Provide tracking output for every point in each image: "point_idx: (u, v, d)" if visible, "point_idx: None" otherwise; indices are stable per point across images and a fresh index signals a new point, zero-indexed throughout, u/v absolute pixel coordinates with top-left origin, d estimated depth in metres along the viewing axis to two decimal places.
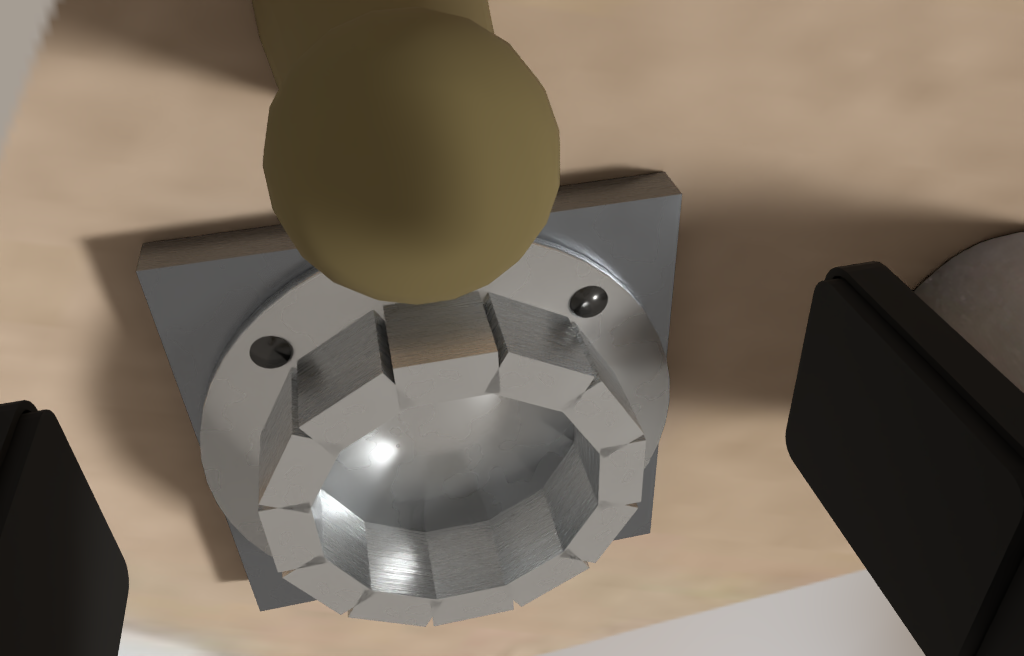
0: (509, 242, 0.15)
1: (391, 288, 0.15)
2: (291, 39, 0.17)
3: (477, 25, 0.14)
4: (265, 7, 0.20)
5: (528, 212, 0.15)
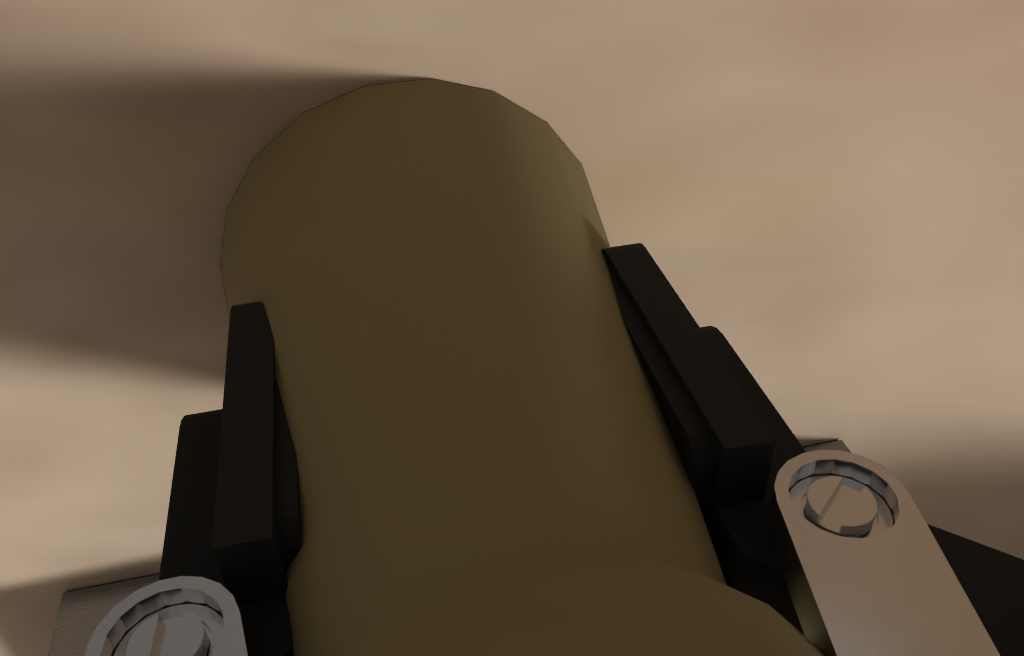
0: None
1: None
2: None
3: None
4: None
5: None
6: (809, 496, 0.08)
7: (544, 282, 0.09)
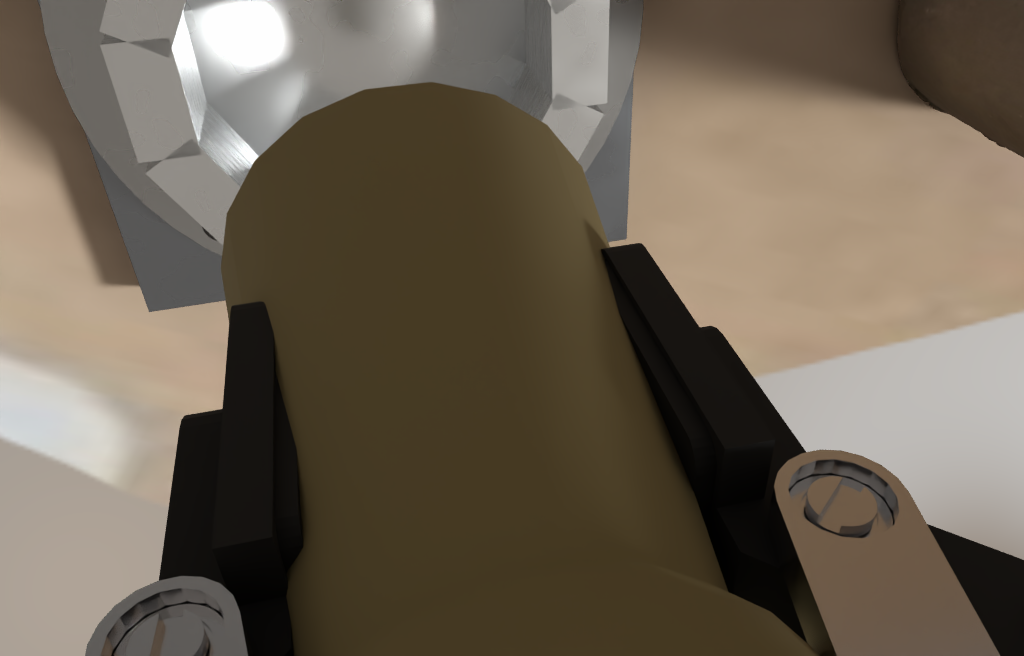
0: None
1: None
2: None
3: None
4: None
5: None
6: (809, 496, 0.08)
7: (545, 287, 0.09)
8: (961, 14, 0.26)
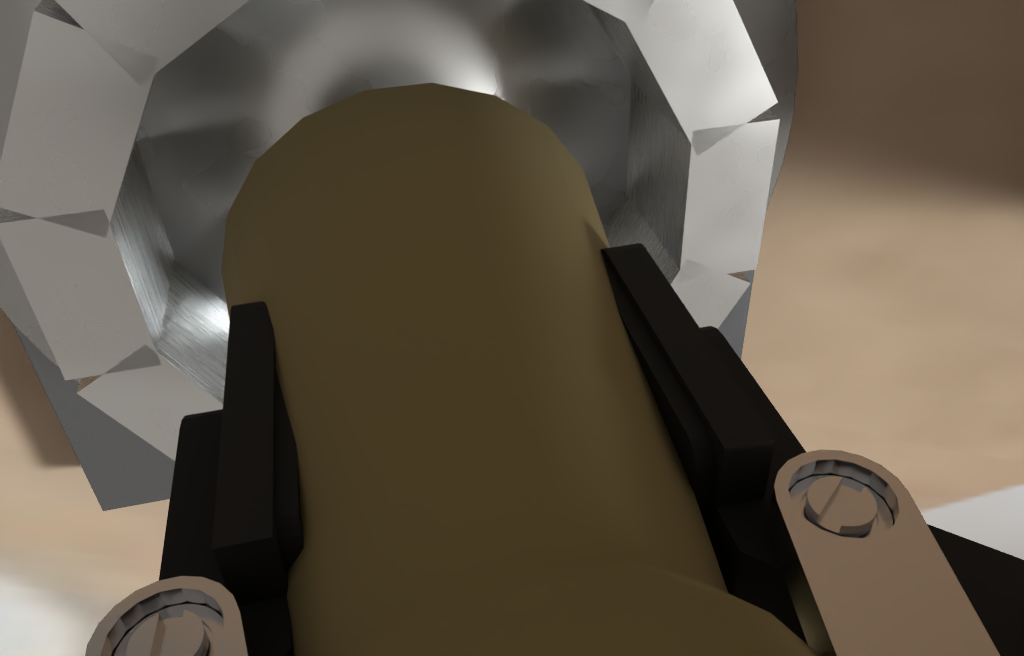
0: None
1: None
2: None
3: None
4: None
5: None
6: (809, 496, 0.08)
7: (545, 288, 0.09)
8: None
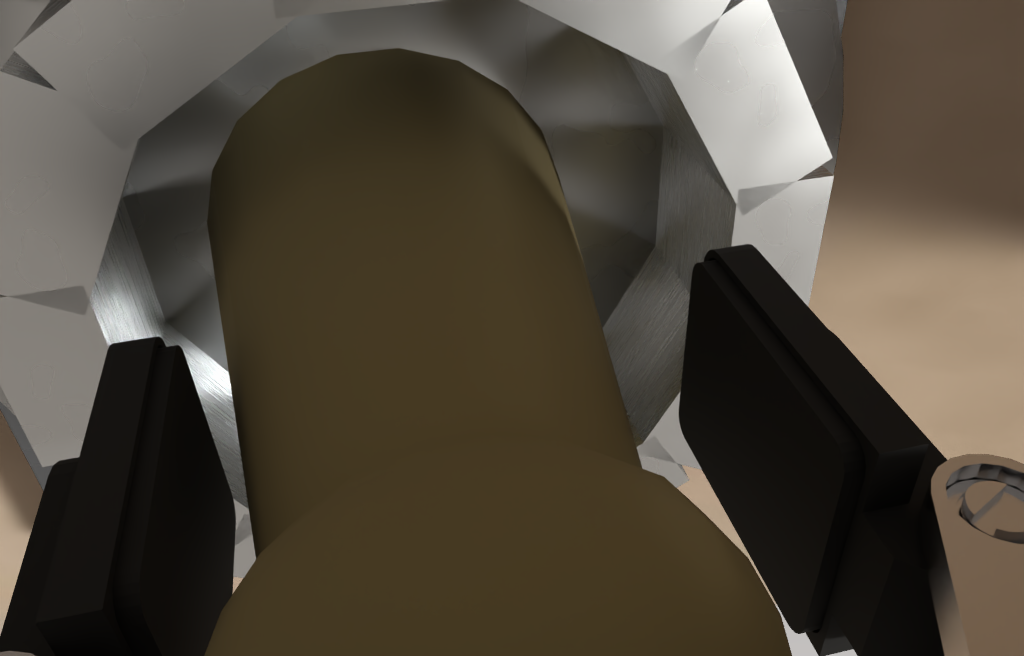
0: None
1: None
2: (255, 396, 0.09)
3: (648, 512, 0.06)
4: (222, 270, 0.12)
5: None
6: (967, 496, 0.08)
7: (491, 222, 0.10)
8: None
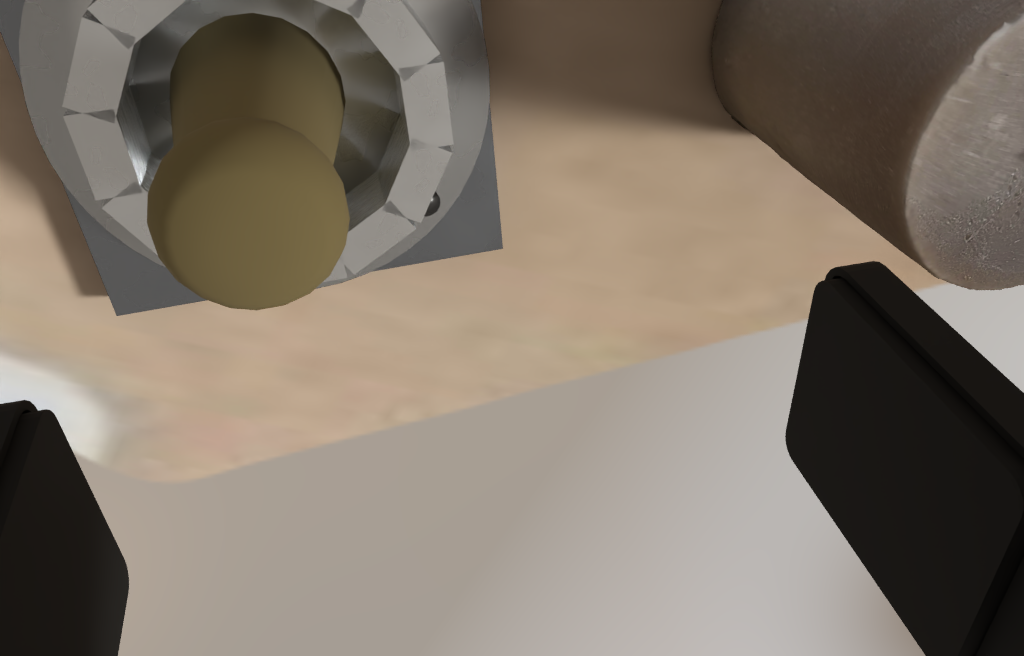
0: (310, 266, 0.23)
1: (234, 299, 0.23)
2: (178, 134, 0.25)
3: (280, 128, 0.22)
4: None
5: (319, 246, 0.22)
6: None
7: (272, 72, 0.26)
8: (744, 64, 0.33)
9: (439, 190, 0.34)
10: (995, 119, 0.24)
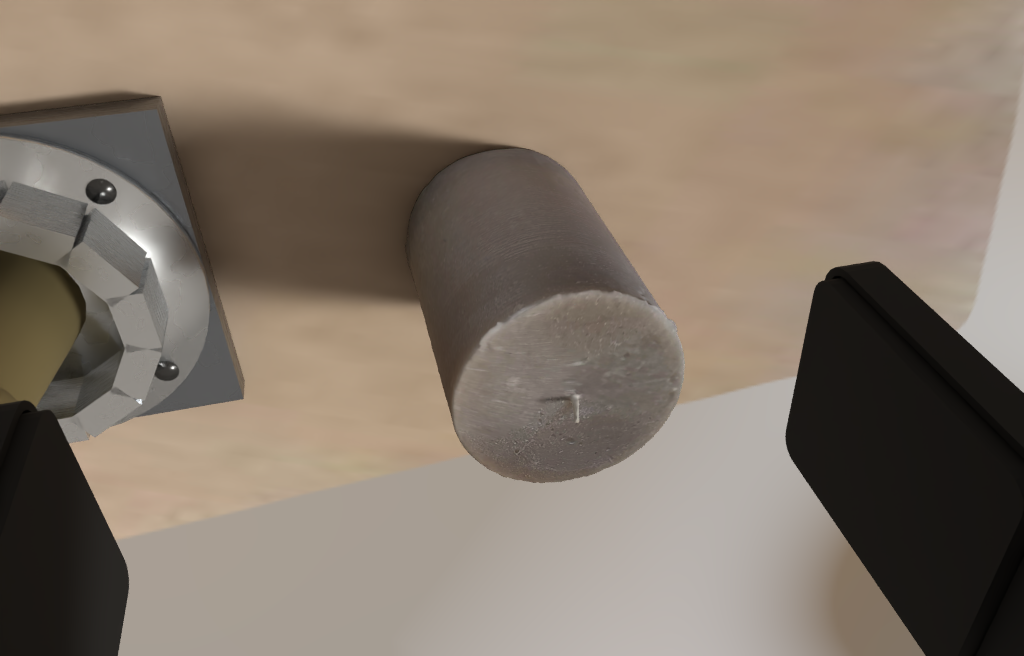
0: None
1: None
2: None
3: None
4: None
5: None
6: None
7: None
8: (414, 274, 0.41)
9: (177, 362, 0.42)
10: (510, 380, 0.33)
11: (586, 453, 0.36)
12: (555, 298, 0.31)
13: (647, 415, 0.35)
